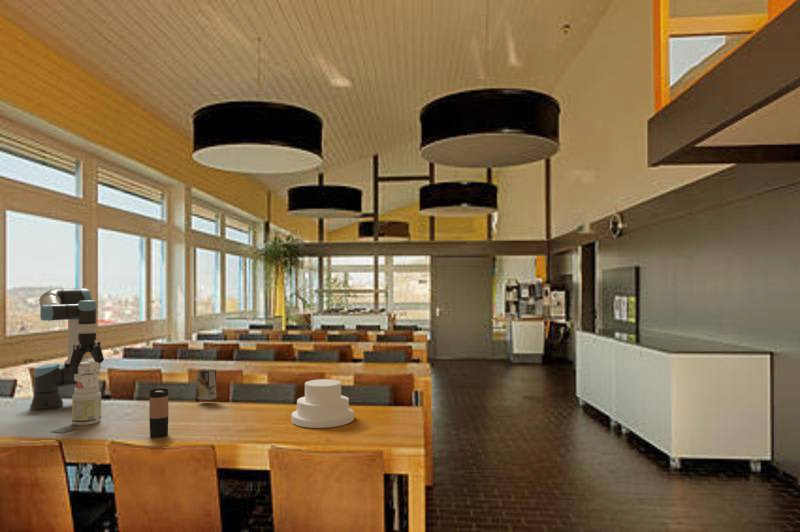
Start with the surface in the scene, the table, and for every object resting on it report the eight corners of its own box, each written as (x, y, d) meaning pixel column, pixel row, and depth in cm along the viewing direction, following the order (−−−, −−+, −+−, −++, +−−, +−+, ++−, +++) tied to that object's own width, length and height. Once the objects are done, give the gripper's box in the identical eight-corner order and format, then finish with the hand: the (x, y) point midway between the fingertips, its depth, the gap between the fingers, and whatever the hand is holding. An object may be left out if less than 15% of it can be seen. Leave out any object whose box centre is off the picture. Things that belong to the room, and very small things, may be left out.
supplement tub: (84, 418, 268) (84, 384, 268) (107, 419, 267) (107, 384, 267) (65, 425, 256) (65, 389, 256) (89, 426, 254) (89, 390, 255)
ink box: (75, 387, 260) (75, 362, 260) (84, 385, 265) (84, 361, 265) (90, 388, 258) (90, 363, 258) (99, 386, 263) (99, 361, 263)
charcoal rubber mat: (65, 427, 252) (65, 426, 252) (77, 428, 250) (77, 427, 251) (50, 432, 245) (50, 431, 245) (62, 433, 243) (62, 432, 243)
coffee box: (217, 397, 312) (217, 369, 312) (209, 400, 306) (209, 371, 306) (204, 396, 316) (204, 368, 316) (196, 398, 310) (196, 370, 310)
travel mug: (153, 433, 242) (153, 388, 242) (170, 433, 242) (170, 388, 243) (146, 439, 234) (146, 392, 234) (165, 438, 235) (165, 392, 235)
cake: (322, 431, 244) (322, 391, 245) (278, 421, 262) (278, 384, 263) (366, 417, 268) (366, 381, 269) (323, 408, 286) (322, 374, 287)
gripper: (99, 329, 274) (99, 373, 274) (60, 335, 252) (59, 382, 251) (112, 330, 272) (112, 374, 272) (73, 335, 250) (73, 383, 249)
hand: (87, 378), depth 262 cm, fingers open, 11 cm apart
